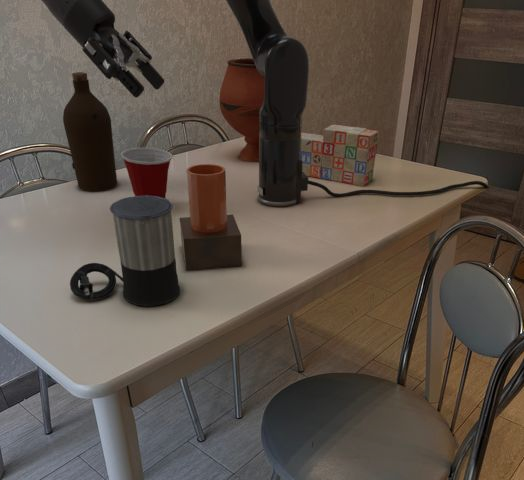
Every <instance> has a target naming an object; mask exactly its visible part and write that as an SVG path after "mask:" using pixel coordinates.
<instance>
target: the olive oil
mask: <svg viewBox="0 0 524 480" xmlns="http://www.w3.org/2000/svg"><path fill="white" fill-rule="evenodd" d="M71 75H72V85H73V89H74V93H73V94H72V96H71V97H70V99H69V100H68V101H67V103H66V105H65V107H64V108H63V112H62V114H63V115H62V121H63V122H62V123H63V127H64V131H65V135H66V139H67V143H68V147H69V151H70V156H71V160H72V163H71V167H72V169H73V171H74V172H75V173H74V174H75V177H76V182H77V186H78V188H79V190H82V191H84V192H85V191H86V192H104V191H109V190H112V189H115V188H116V187H117V185H118V177H117V169H116V161H115V150H114V141H113V138H114V137H113V127H112V118H111V115H110V112H109V111H108V109H107V107H106V106H105V104H104V103H103V102H101V101H100V99H98V98H97V97H96V95H94V94H93V93H92V91H91V89H90V88H91V87H90V81H89V79H88V73H87V72H83V71H81V72H80V71H79V72H78V71H77V72H72V73H71Z"/></svg>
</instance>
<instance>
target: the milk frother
mask: <svg viewBox="0 0 524 480" xmlns="http://www.w3.org/2000/svg"><path fill="white" fill-rule="evenodd" d="M173 206H174V205H173V202H172V201H170V200H169V199H167V198H166V199H165V198H161V197H157V196H148V195H145V196H135V195H134V196H133V195H132V196H129V197H124V198H120V199H119V200H116V201H114V202H113V203H111V205H110V207H109V211H110V212H111V214H112V218H113V224H114V231H115V236H116V243H117V249H118V255H119V260H120V266H121V274H122V276H121V275H119V273H117V272H116V271H115V270H114V269H113V268H111V267H109V266H108V265H105V264H104V263H98V262H90V263H87V264H83V265H82V266H81V267H79V268H78V269H77V270H76V271H75V272H74V273H73V274H72V276H71V278H70V281H69V286H70V290H71V292H72V294H73V295H74V296H76V297H77V298H79V299H82V300H98V299H103V298H105V297H108V296H109V295H110V294H111V293H112V292H113V291H114V290H115V289H116V285H117V278H118V279H119V280H120V281H121V282H122V285H123V291H122V296H123V298H124V300H125V301H127V302H128V303H130V304H132V305H136V306H140V307H155V306H160V305H161V306H162V305H165V304H168V303H169V302H172V301H174V300H175V299H176V298H177V297H178V296H179V295H180V293H181V287H180V285H179V277H178V273H177V271H178V270H177V260H176V251H175V250H176V249H175V239H174V238H175V237H174V228H173V215H172V210H173ZM94 272H95V273H100V274H102V275H105V276H106V277H107V279H108V282H107V285H106V286H105V287H104V288H102V289H100V290H96V291H94V289H93V286H94V285H93V283H92V282H90V279H89V276H88V275H89V274H91V273H94ZM79 283H80V284H79Z"/></svg>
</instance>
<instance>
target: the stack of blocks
mask: <svg viewBox="0 0 524 480" xmlns="http://www.w3.org/2000/svg"><path fill="white" fill-rule="evenodd" d="M379 134H380V133H379V130H375V129H367V128H365V127H360V126H359V127H358V126H349V125H339V124H331V125H329V126H327V127H325V128H324V129H323V134H315V133H309V132H302V131H301V151H300V159H301V160H302V162H303V164H302V172H304V174H305V175H306V176H307V177H312V178H317V179H323V180H329V181H334V182H340V183H344V184H349V185H355V186H360V187H365V186H366V185H368V184H369V183H370V182H371V181H373V177H374V170H375V169H374V168H375V162H376V156H377V149H378V148H377V147H378V140H379Z"/></svg>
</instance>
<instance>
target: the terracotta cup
mask: <svg viewBox="0 0 524 480" xmlns="http://www.w3.org/2000/svg"><path fill="white" fill-rule="evenodd" d="M226 174H227V173H226V168H225V167H224V166H222V165H219V164H213V163H201V164H195V165H191V166H189V167H188V168H187V169H186V176H187V190H188V191H187V192H188V207H189V217H190V221H191V228H192V229H193V230H195V231H198V232H203V233H213V232H218V231H222V230H224V229H225V228H226V227H227V215H228V211H227V209H228V208H227V207H228V206H227V181H226V179H227V178H226Z"/></svg>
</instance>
